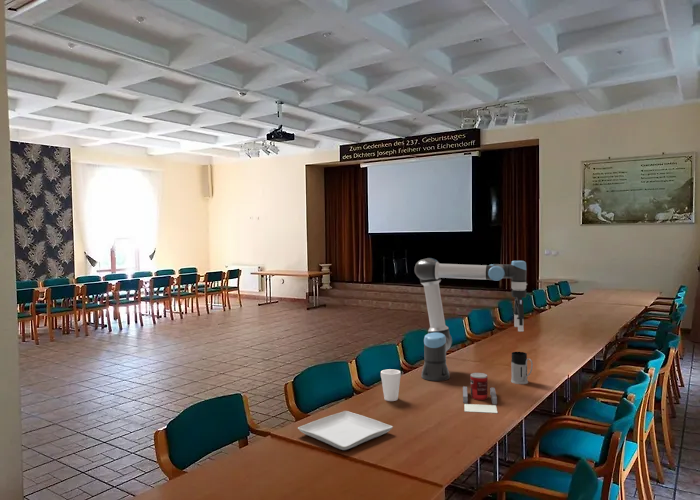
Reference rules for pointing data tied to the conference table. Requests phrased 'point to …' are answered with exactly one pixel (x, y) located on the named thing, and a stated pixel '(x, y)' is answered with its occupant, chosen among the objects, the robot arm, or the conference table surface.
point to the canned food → (479, 386)
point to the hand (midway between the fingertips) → (518, 329)
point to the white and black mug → (520, 368)
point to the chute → (480, 407)
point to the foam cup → (390, 384)
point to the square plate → (345, 429)
